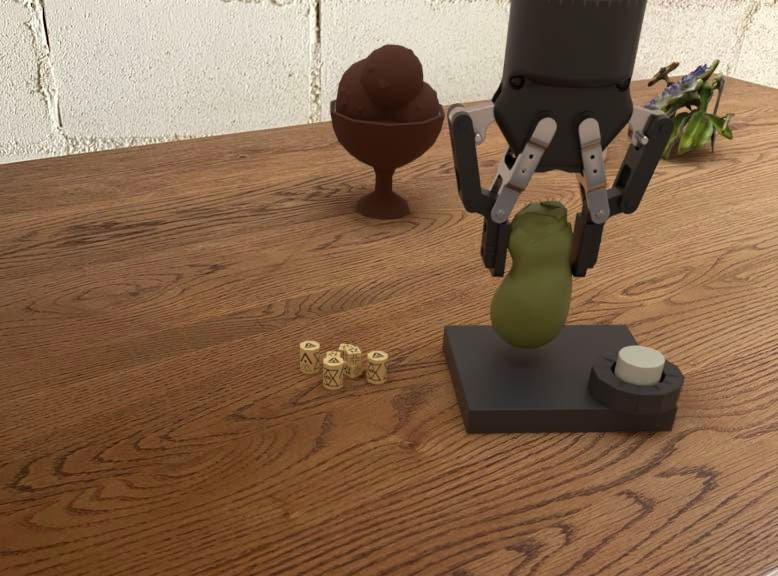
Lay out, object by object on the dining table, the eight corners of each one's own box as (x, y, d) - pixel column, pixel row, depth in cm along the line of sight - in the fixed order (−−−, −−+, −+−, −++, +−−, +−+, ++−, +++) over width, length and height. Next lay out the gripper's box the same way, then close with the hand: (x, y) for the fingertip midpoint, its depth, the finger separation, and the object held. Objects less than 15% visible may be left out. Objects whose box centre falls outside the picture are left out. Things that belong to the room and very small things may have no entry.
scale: (626, 346, 72) (636, 304, 69) (682, 439, 62) (696, 393, 60) (442, 347, 70) (446, 304, 68) (469, 442, 61) (474, 396, 58)
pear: (542, 370, 63) (567, 225, 56) (472, 348, 65) (489, 206, 59) (573, 338, 67) (600, 199, 60) (506, 318, 69) (525, 182, 62)
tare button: (651, 365, 63) (656, 345, 62) (665, 388, 61) (671, 367, 60) (608, 365, 63) (613, 345, 62) (621, 388, 61) (626, 367, 60)
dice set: (390, 382, 66) (392, 358, 65) (327, 398, 64) (327, 374, 63) (356, 351, 70) (357, 327, 68) (295, 366, 67) (294, 342, 66)
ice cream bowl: (456, 205, 94) (472, 41, 84) (396, 238, 87) (406, 62, 77) (370, 182, 98) (375, 23, 89) (306, 212, 91) (304, 42, 82)
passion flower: (641, 185, 117) (654, 88, 116) (732, 183, 113) (746, 82, 112) (627, 151, 107) (641, 45, 106) (728, 148, 102) (743, 36, 102)
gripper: (464, -10, 48) (438, 297, 59) (730, -3, 49) (657, 296, 60) (444, -34, 54) (423, 250, 65) (683, -27, 55) (623, 250, 66)
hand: (536, 271), depth 62 cm, fingers closed on pear, 5 cm apart
